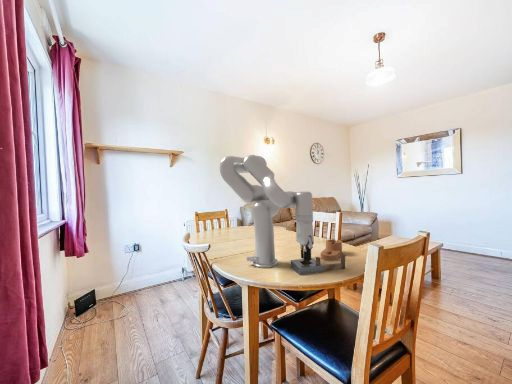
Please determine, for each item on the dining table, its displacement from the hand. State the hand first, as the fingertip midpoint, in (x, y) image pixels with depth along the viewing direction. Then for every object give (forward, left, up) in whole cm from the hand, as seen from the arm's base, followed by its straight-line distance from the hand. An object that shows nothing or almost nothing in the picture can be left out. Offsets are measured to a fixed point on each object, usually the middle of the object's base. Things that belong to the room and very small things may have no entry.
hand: (306, 258), depth 106 cm
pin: (0, 0, -3) cm, 3 cm away
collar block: (0, 0, -5) cm, 5 cm away
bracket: (+20, +14, -5) cm, 26 cm away
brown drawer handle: (+10, -4, -5) cm, 12 cm away
